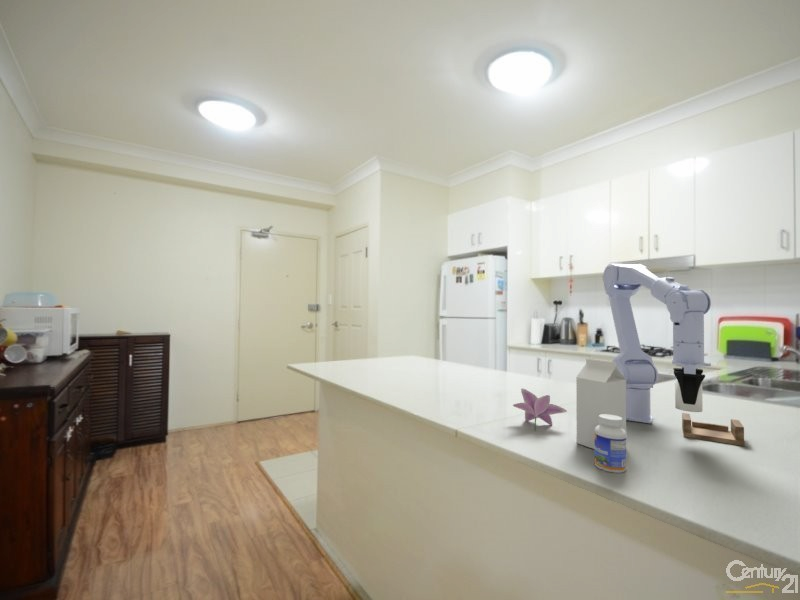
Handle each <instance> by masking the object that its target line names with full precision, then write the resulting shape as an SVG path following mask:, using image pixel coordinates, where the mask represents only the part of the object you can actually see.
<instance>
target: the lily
mask: <svg viewBox="0 0 800 600" xmlns="http://www.w3.org/2000/svg"><path fill="white" fill-rule="evenodd" d="M520 393H521V395H522V399H523V401H524V402H518V403H513V404H512V406H513V407H514V408H517V409H520V410H522V411H524V420H525V421H526V422H530V421H533V420H534V432H536V429H537V419H538V418H539V419H540V420H542V421H543V422H545V423H547V424H548V425H549V426H553V420H552V416H551V415H555V414H561V413H562V414H563V413H568V410H567V409H565V408H563V407H561V406H559V405H557V404H553V403H550V402H551V396H550V394H546V395H543V396H541V397H537V396H536V395H535V394H534V393H533V392H531V391H529V390H527V389H525V388H521V389H520Z"/></svg>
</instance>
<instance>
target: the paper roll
mask: <svg viewBox="0 0 800 600" xmlns="http://www.w3.org/2000/svg"><path fill="white" fill-rule="evenodd" d="M674 382H675V383H674V388H675V389H674V392H675V393H674V395H675V397H674V399H675V409H676V410H679V411H683V412H690V413H702V412H703V384H702V383H701V385H700V387H699V391H698V395H697V400H696V403H695V405H692V404H684V403H683V400H682V396H681V390H680V386H679V383H678V380H676V381H674Z"/></svg>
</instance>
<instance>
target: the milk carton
mask: <svg viewBox="0 0 800 600" xmlns="http://www.w3.org/2000/svg"><path fill="white" fill-rule="evenodd" d="M585 360H586V362H585V364H584V366H583V367H582V369H580V371H579V373H578V374H577V376H576V382H575V383H576V444H579V445H580V446H584V447H587V448H590V449H593V450H595V427H596V426H598V425H600V423H599V415H601V414H610V415H616V416H619V417H621V418H622V421H623V425H622V426H621V428H622V429H624V430H625V432H626V433H627V420H626V379H625V378H624V377H623V375H622V374H621V373H620V372H619V370H618V369H617V368H616V362H613V361H609V360H608V361H607V360H600V359H594V358H593V359H592V358H586V359H585Z"/></svg>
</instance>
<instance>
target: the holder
mask: <svg viewBox="0 0 800 600" xmlns="http://www.w3.org/2000/svg"><path fill="white" fill-rule="evenodd" d="M681 414H682V415H681V418H682V419H681V420H682V421H681V422H682V423H681V430H682V435H683V438H691V439H696V440H697V439H698V440H703V441H711V442H716V443H723V444H730V445H736V446H741V447H745V446H746V445H745V444H746V442H745V426H743V424H742V423H741V420H739V419H732V418H731V419H730V430H729V425H725V424H724V425H723V424H718V423H717V424H716V423H710V422H704V421H703V422H701V421H694V420H692V418H691V414H690V413H685V412H682V413H681Z"/></svg>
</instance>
